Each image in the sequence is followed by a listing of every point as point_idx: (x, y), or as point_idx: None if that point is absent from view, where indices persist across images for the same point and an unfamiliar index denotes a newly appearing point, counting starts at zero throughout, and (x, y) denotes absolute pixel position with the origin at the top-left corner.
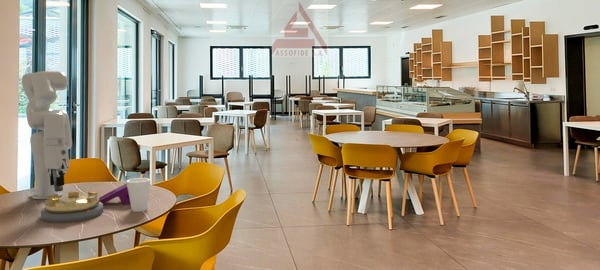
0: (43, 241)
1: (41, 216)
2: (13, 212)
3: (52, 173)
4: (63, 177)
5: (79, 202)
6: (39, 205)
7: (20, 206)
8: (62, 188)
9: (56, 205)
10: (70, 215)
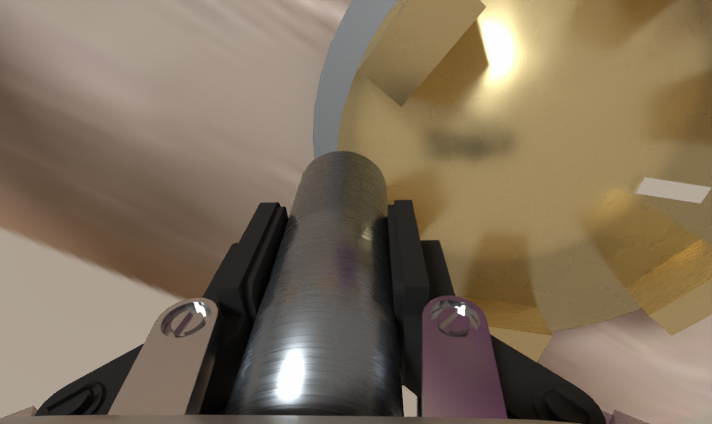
0: (699, 414)
1: None
2: (141, 255)
3: (228, 392)
4: (423, 272)
5: (683, 185)
6: (55, 88)
7: (2, 166)
8: (384, 186)
9: (546, 302)
10: None
